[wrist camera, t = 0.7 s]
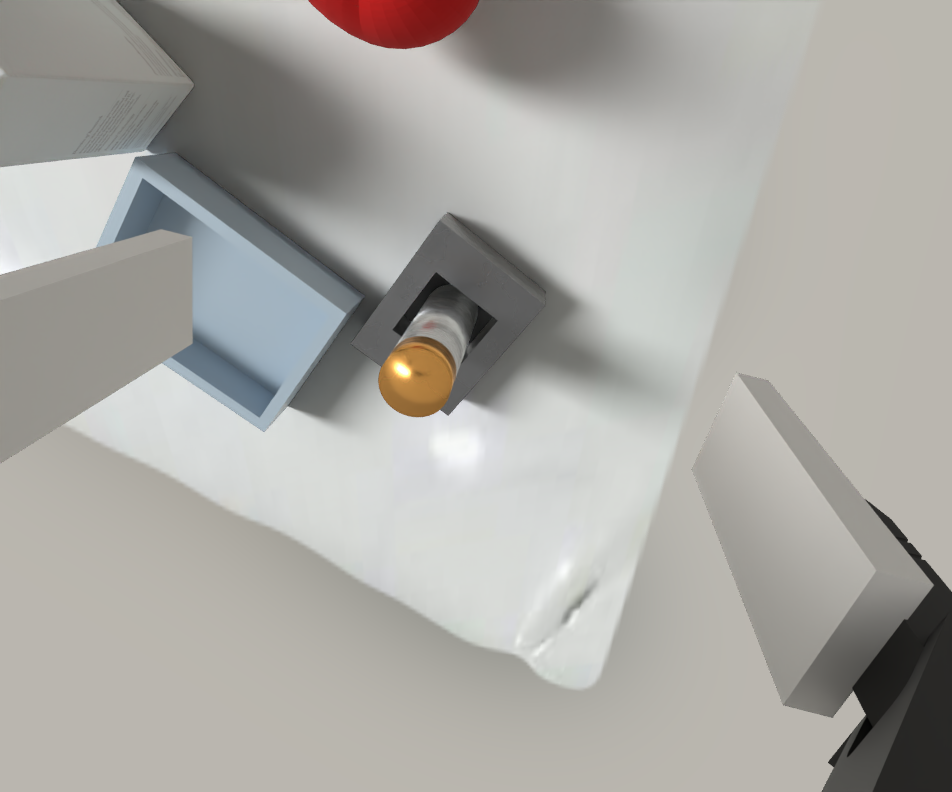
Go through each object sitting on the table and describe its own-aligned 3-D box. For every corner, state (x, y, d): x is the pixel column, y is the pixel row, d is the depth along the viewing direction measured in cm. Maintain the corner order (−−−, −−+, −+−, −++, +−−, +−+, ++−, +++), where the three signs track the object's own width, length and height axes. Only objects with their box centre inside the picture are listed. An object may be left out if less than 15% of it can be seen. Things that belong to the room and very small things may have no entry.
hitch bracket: (363, 328, 41) (350, 344, 38) (447, 212, 37) (439, 220, 34) (454, 396, 42) (448, 415, 40) (545, 291, 38) (545, 305, 36)
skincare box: (40, 45, 35) (-269, 4, 22) (90, -39, 33) (-220, -140, 20) (152, 158, 37) (-68, 183, 24) (206, 86, 35) (-4, 71, 22)
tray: (113, 286, 42) (72, 302, 38) (175, 152, 37) (135, 156, 34) (287, 406, 44) (264, 432, 41) (365, 295, 40) (346, 314, 36)
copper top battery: (415, 314, 40) (364, 388, 29) (446, 273, 38) (404, 335, 28) (457, 346, 41) (422, 429, 30) (489, 307, 39) (465, 381, 28)
